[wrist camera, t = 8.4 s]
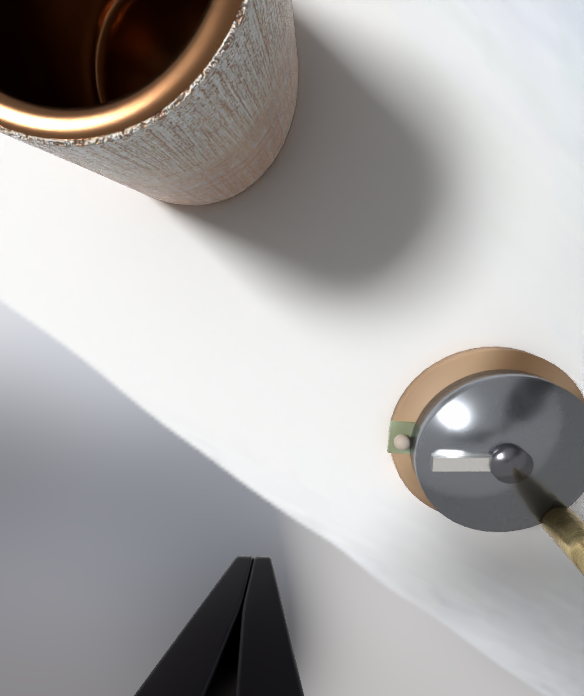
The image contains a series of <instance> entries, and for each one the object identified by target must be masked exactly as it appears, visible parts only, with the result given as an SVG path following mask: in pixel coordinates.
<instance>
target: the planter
mask: <svg viewBox="0 0 584 696" xmlns="http://www.w3.org/2000/svg"><path fill="white" fill-rule="evenodd" d="M297 93H298V56H297V45H296V36H295V26H294V17H293V9H292V0H0V132H1V133H3V134H6V135H8V136H10V137H13V138H15V139H17V140H20V141H22V142H24V143H27V144H29V145H32V146H34V147H36V148H39V149H41V150H44V151H46V152H49V153H51V154H53V155H56V156H58V157H60V158H63V159H65V160H68V161H70V162H72V163H75V164H77V165H79V166H82V167H84V168H86V169H89V170H91V171H93V172H96V173H98V174H100V175H102V176H105V177H107V178H109V179H111V180H114V181H116V182H118V183H120V184H123V185H125V186H127V187H129V188H132V189H134V190H136V191H139V192H141V193H143V194H146V195H148V196H150V197H153V198H155V199H158V200H161V201H165V202H169V203H174V204H181V205H205V204H211V203H216V202H219V201H223V200H226V199H228V198H231V197H233V196H235V195H237V194H238V193H240V192H242V191H244V190H245V189H246V188H248V187H249V186H251V185H252V184H253V183H254V182H256V181H257V180H258V179H259V178H260V177H261V176H262V175H263V174H264V173H265V171H266V170H267V169H268V168H269V167H270V165H271V164H272V163H273V161H274V160H275V158H276V157H277V155H278V154H279V152H280V150H281V148H282V146H283V144H284V142H285V140H286V137H287V135H288V132H289V130H290V127H291V123H292V120H293V116H294V111H295V106H296V100H297Z"/></svg>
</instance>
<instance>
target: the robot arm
mask: <svg viewBox="0 0 584 696" xmlns="http://www.w3.org/2000/svg"><path fill="white" fill-rule="evenodd" d="M134 696H304V693H303V689H302V685H301V681H300V677H299V672H298V668H297V664H296V660H295V655H294V651H293V647H292V643H291V639H290V635H289V630H288V626H287V622H286V618H285V614H284V609H283V605H282V601H281V597H280V593H279V589H278V584H277V580H276V576H275V572H274V568H273V563H272V559H271V557H269V556H256V557H255V558H254V557H253V556H241V555H240V556H237V557H236V559H235V560H234V561H233V563H232V564H231V565H230V567H229V568H228V569H227V571H226V572H225V573H224V575H223V576H222V577H221V579H220V580H219V581H218V583H217V584H216V585H215V587H214V588H213V590H212V591H211V592H210V594H209V595H208V596H207V598H206V599H205V600H204V602H203V603H202V604H201V606H200V607H199V609H198V610H197V611H196V613H195V614H194V615H193V617H192V618H191V619H190V621H189V622H188V623H187V625H186V626H185V627H184V629H183V630H182V632H181V633H180V634H179V636H178V637H177V638H176V640H175V641H174V642H173V644H172V645H171V646H170V648H169V649H168V650H167V652H166V653H165V655H164V656H163V657H162V659H161V660H160V661H159V663H158V664H157V665H156V667H155V668H154V670H153V671H152V672H151V674H150V675H149V677H148V678H147V679H146V680H145V682H144V683H143V684H142V686H141V687H140V689H139V690H138V691H137V692H136V694H135V695H134Z"/></svg>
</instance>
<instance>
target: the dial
mask: <svg viewBox="0 0 584 696" xmlns="http://www.w3.org/2000/svg"><path fill="white" fill-rule="evenodd" d="M410 458H411V464H412V467H413V470H414V473H415V475H416V477H417V479H418V481H419V483H420V485H421V487H422V489H423V491H424V493H425V495H426V497H427V498H428V500H429V501H430V502H431V504H432V505H433V506H434V507H435V508H436V509H437V510H438V511H439V512H440V513H442V514H443V515H444V516H446V517H447V518H449V519H450V520H452V521H454V522H456V523H458V524H460V525H463V526H465V527H469V528H472V529H476V530H481V531H490V532H508V531H515V530H521V529H525V528H529V527H532V526H535V525H538V524H541V523H542V527H543V528H544V530H545V531H546V532H547V533H548V534H549V536H550V537H551V538H552V539H553V540H554V541H555V543H556V544H557V545H558V546H559V547H560V548H561V550H562V551H563V552H564V553H565V554H566V555H567V557H568V558H569V559H570V560H571V561H572V562H573V564H574V565H575V566H576V567H577V568H578V569H579V571H580V572H581V573H582V574H583V575H584V521H583V520H582V519H581V518H580V517H578V516H577V515H576V514H575V513H574V512H573V511H572V510H570V509H568V507H569V506H570V505H572V504H573V503H574V502H575V501H576V500H577V499H578V498H579V497H580V495H581V494H582V493H583V492H584V403H583V402H582V401H581V400H579V399H578V398H577V397H576V396H575V395H573V394H572V393H570V392H569V391H567V390H566V389H564V388H562V387H560V386H558V385H556V384H554V383H552V382H550V381H548V380H546V379H544V378H542V377H540V376H537V375H535V374H532V373H528V372H525V371H519V370H513V369H496V370H488V371H483V372H478V373H475V374H472V375H468V376H466V377H464V378H461V379H459V380H457V381H455V382H453V383H452V384H450V385H448V386H447V387H445V388H444V389H443V390H441V391H440V392H439V393H438V394H436V395H435V396H434V397H433V398H432V399H431V400H430V401H429V403H428V404H427V405H426V406H425V408H424V409H423V410H422V412H421V413H420V415H419V417H418V418H417V421H416V423H415V425H414V428H413V431H412V435H411V440H410Z"/></svg>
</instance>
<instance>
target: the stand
mask: <svg viewBox="0 0 584 696" xmlns="http://www.w3.org/2000/svg"><path fill="white" fill-rule="evenodd" d="M496 369H513V370H519V371H525V372H528V373H532V374H535V375H537V376H540V377H542V378H544V379H546V380H548V381H550V382H552V383H554V384H556V385H558V386H560V387H562V388H564V389H566V390H567V391H569V392H570V393H572V394H573V395H575V396H576V397H577V398H578V399H579V400H581V401H582V402H583V403H584V398H583V396H582V394H581V392H580V390H579V389H578V387H577V386H576V384H575V383H574V381H573V380H572V379H571V378H570V377H569V376H568V375H567V374H566V373H565V372H563V371H562V370H561V369H560V368H558V367H557V366H556V365H554V364H552V363H550V362H548V361H546V360H545V359H542V358H540V357H538V356H535V355H533V354H530V353H527V352H525V351H521V350H517V349H513V348H505V347H481V348H474V349H469V350H466V351H462V352H458V353H456V354H453V355H451V356H448V357H446V358H444V359H442V360H440V361H438V362H436V363H434V364H433V365H432V366H430V367H429V368H427V369H426V370H424V371H423V372H422V373H421V374H420V375H419V376H418V377H416V378H415V379H414V380H413V382H412V383H411V384H410V385H409V386H408V387H407V388H406V390H405V391H404V393H403V394H402V396H401V397H400V399H399V401H398V403H397V405H396V407H395V409H394V412H393V415H392V418H391V422H390V429H389V440H388V449H387V451H388V453H391V455H392V459H393V461H394V464H395V467H396V469H397V471H398V473H399V476H400V478H401V479H402V481H403V482H404V484H405V486H406V487H407V488H408V489H409V490H410V491H411V493H412V494H413V495H414V496H416V497H417V498H418V499H419V500H420V501H422V502H423V503H425V504H426V505H428V506H429V507H431V508H433V509H435V510H437V509H436V508H435V507H434V506H433V505H432V504H431V502H430V501H429V500H428V498H427V497H426V495H425V493H424V491H423V489H422V487H421V485H420V483H419V481H418V479H417V477H416V475H415V473H414V470H413V467H412V464H411V458H410V440H411V435H412V431H413V428H414V425H415V423H416V421H417V418H418V417H419V415H420V413H421V412H422V410H423V409H424V408H425V406H426V405H427V404H428V403H429V401H430V400H431V399H432V398H433V397H434V396H435V395H436V394H438V393H439V392H440V391H441V390H443V389H444V388H445V387H447V386H448V385H450V384H452V383H453V382H455V381H457V380H459V379H461V378H464V377H466V376H468V375H472V374H475V373H478V372H483V371H488V370H496ZM437 511H438V510H437Z"/></svg>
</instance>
